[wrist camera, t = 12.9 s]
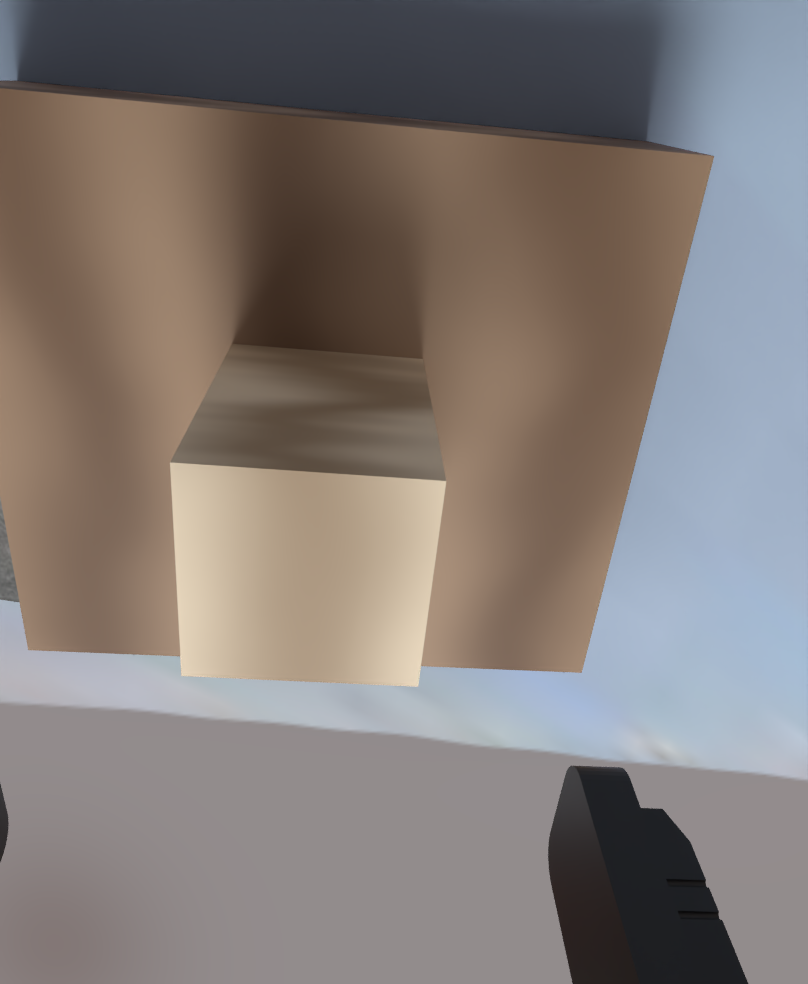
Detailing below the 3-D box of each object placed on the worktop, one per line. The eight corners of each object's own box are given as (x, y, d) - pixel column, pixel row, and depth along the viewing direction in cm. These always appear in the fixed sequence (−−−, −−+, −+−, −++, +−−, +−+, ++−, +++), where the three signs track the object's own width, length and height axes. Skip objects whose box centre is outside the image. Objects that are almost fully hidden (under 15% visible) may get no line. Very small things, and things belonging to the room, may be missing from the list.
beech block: (422, 358, 20) (446, 481, 14) (404, 521, 23) (417, 686, 16) (232, 343, 20) (169, 462, 14) (233, 510, 22) (181, 675, 16)
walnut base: (646, 141, 23) (714, 156, 18) (550, 585, 30) (581, 672, 26) (16, 80, 21) (-77, 80, 17) (80, 562, 29) (28, 649, 24)
